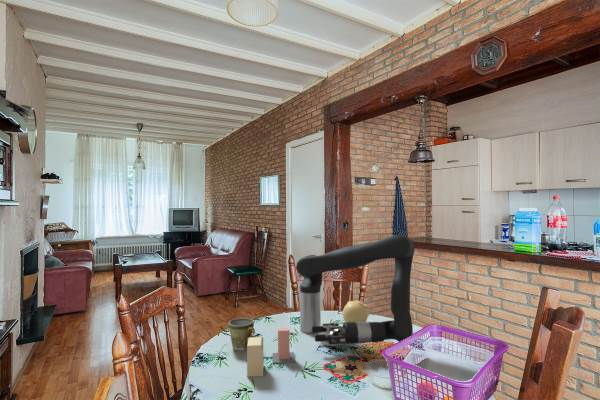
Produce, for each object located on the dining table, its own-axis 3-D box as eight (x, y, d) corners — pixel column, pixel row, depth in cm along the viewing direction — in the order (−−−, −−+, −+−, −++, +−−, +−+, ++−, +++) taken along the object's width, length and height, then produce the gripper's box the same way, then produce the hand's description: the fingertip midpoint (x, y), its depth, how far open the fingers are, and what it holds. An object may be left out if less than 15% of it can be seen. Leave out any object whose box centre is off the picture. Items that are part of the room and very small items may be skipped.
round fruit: (372, 323, 159) (372, 300, 160) (359, 330, 150) (359, 305, 151) (352, 318, 167) (351, 296, 167) (338, 324, 158) (338, 301, 158)
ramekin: (327, 349, 129) (327, 335, 129) (313, 339, 139) (313, 327, 139) (351, 344, 134) (350, 330, 134) (335, 335, 144) (335, 322, 144)
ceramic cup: (223, 347, 131) (223, 322, 131) (243, 340, 138) (243, 316, 139) (243, 357, 122) (243, 329, 123) (264, 349, 130) (264, 323, 130)
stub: (288, 355, 123) (288, 327, 123) (289, 358, 120) (289, 330, 120) (278, 355, 123) (277, 328, 123) (278, 359, 120) (278, 330, 120)
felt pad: (272, 354, 125) (272, 353, 125) (293, 353, 126) (293, 352, 126) (272, 363, 117) (272, 362, 117) (295, 362, 118) (295, 361, 118)
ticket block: (265, 366, 115) (265, 336, 115) (265, 376, 108) (265, 344, 108) (248, 367, 114) (248, 337, 115) (247, 377, 107) (247, 345, 108)
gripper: (352, 316, 131) (311, 317, 130) (361, 329, 117) (316, 330, 116) (352, 335, 131) (311, 336, 130) (362, 350, 117) (316, 352, 115)
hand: (313, 333), depth 123 cm, fingers open, 8 cm apart
